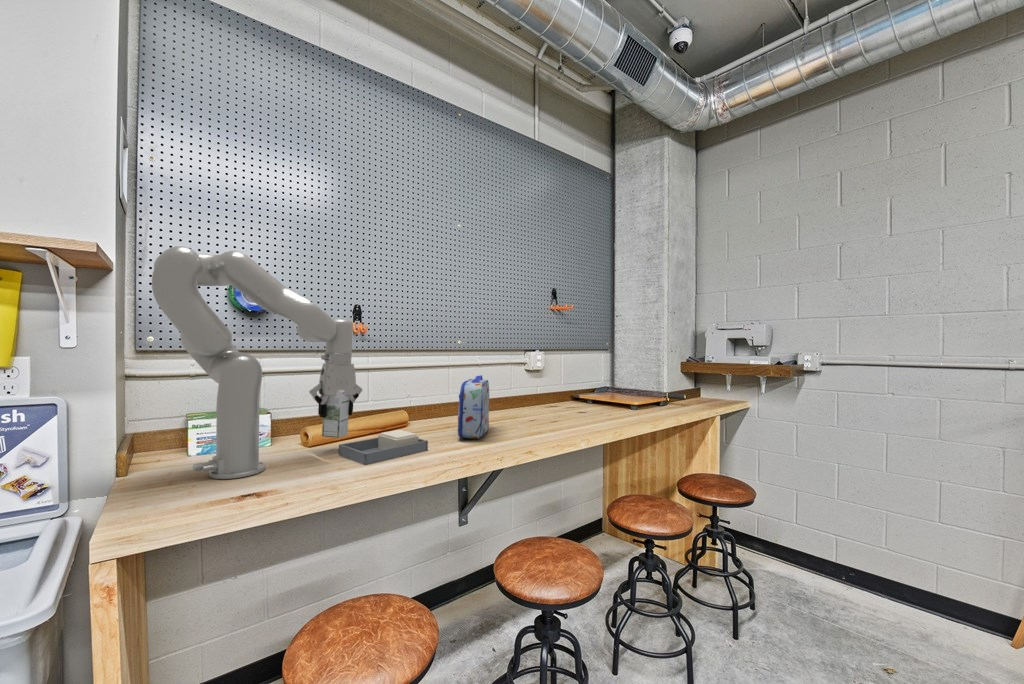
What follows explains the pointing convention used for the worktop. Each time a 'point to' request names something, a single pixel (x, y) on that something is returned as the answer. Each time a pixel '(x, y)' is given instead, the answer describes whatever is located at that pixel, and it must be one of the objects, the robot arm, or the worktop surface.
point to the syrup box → (336, 416)
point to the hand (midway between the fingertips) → (335, 415)
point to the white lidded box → (396, 439)
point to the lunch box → (473, 408)
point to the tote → (378, 450)
